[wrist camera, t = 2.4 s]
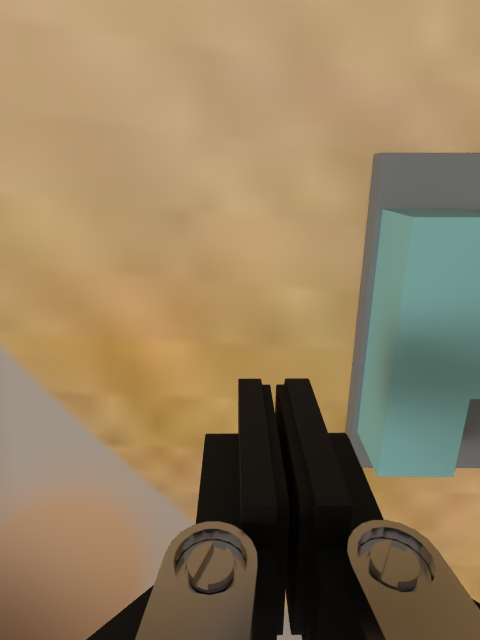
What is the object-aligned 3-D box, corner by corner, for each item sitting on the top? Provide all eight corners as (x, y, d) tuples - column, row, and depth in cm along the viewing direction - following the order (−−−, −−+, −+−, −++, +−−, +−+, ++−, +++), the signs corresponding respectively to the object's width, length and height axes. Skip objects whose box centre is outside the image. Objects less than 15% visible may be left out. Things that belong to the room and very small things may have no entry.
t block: (519, 432, 19) (567, 477, 16) (357, 431, 19) (377, 476, 16) (579, 209, 16) (652, 217, 13) (382, 209, 16) (413, 217, 13)
